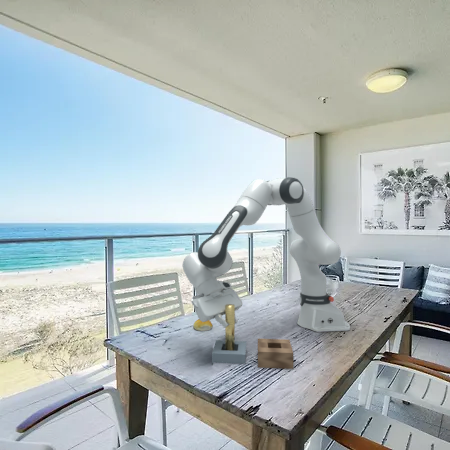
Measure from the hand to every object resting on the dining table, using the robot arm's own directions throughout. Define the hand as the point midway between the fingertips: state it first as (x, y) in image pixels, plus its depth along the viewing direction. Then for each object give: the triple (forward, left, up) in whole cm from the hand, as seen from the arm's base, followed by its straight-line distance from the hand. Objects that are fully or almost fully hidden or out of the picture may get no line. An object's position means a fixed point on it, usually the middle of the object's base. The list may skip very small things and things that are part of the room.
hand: (231, 324), depth 107 cm
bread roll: (+15, -30, -12) cm, 35 cm away
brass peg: (+1, 0, -9) cm, 9 cm away
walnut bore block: (-14, +2, -12) cm, 19 cm away
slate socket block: (+1, 0, -12) cm, 12 cm away
